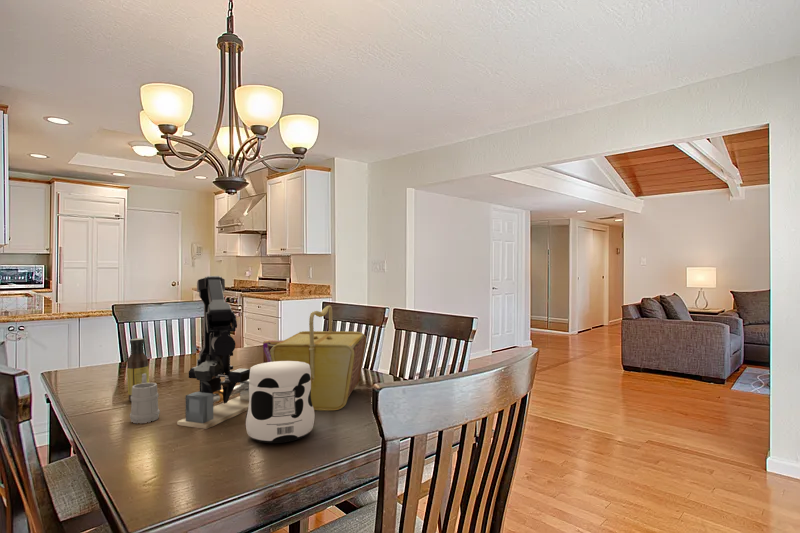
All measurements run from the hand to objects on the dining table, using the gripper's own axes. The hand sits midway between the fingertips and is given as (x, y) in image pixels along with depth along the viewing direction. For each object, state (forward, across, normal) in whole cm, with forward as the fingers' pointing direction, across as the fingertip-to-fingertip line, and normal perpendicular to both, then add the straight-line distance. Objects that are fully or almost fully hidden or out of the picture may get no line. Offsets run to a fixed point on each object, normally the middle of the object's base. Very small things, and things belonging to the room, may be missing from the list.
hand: (220, 402), depth 141 cm
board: (+3, 0, +5) cm, 6 cm away
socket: (+2, 0, -8) cm, 9 cm away
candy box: (+4, -8, +41) cm, 42 cm away
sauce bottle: (+4, -37, +5) cm, 37 cm away
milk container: (+4, +27, -10) cm, 29 cm away
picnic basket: (+4, +21, +24) cm, 32 cm away
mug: (+4, -19, -9) cm, 22 cm away
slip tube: (0, 0, +3) cm, 3 cm away
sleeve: (+3, 0, +16) cm, 16 cm away
